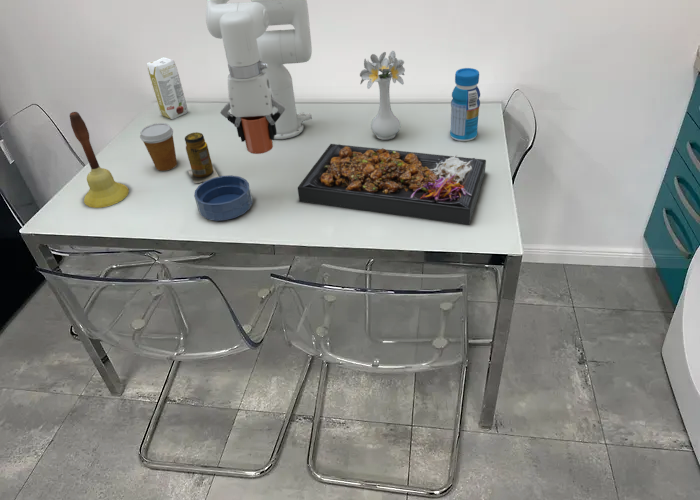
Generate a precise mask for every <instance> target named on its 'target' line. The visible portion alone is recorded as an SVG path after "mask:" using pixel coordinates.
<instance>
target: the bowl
mask: <svg viewBox="0 0 700 500" xmlns="http://www.w3.org/2000/svg"><path fill="white" fill-rule="evenodd" d="M193 196H194V200H195V203H196V207H197V210H198V213H199V214H200V217H202V218H204V219H206V220H210V221H214V222H215V221H217V222H218V221H227V220H232V219H235V218H238V217H240V216H242V215H244V214H245V213H246V212H248V211H249V210H250V209H251V207H252V205H253V196H252V192H251V185H250V182H248V180H247V179H246V178H244V177H241V176H238V175H233V174H231V175H230V174H229V175H219V177H215V178H212V179H210V180H207V181H204V182H201V183H200V184H199V185H198V186H196V188H195V190H194V195H193Z"/></svg>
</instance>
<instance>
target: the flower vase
mask: <svg viewBox="0 0 700 500" xmlns="http://www.w3.org/2000/svg"><path fill="white" fill-rule="evenodd" d="M386 55H387V52H386V51H384V52H382V53H381V54H380V55H379V57H378V55H376V53H372V54H371V55H370V61H369V60H367V59H366V58H364V60H363V67H364V69H362V70H361V71H360V72H359V77H361V80H360V85H362V84H363V82H364V81H368V82H367V84H366V88H367V89H368V90H370V88H372V86H373V84H374V83H378V89H379V90H378V92H379V106H378V111H377V114H376V115H375V117H373V119H372V121H371V122H370V130H371V131H372V133H373V134H374V135H375V137H376V138H377V139H379V140H383V141H388V140H392V139H394V138H395V137H396V135H397V133H399V131H400V130H401V128H402V124H401V121H400V119H399V118H398V117H397V115H395V114H394V113H393V110H392V107H391V96H390V87H391V80H392V83H393V84H396V83H397V82H398V83H399V84H400V85H404V84H405V83H404V79H403V77H402V76H405V72H406V69H405V67H404V64H405V61H404V60H403V59H401V58H400V59H398V58H397V57H396V52H395V50H391V51H390V53H389V55H388V57H386ZM379 72H381V73H379ZM401 75H402V76H401Z"/></svg>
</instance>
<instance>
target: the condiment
mask: <svg viewBox="0 0 700 500" xmlns="http://www.w3.org/2000/svg"><path fill="white" fill-rule="evenodd" d="M184 141H185V151H186V155H187V158H188V162H189V165H190V170H187V172H188V175H189V176H190V178H191V180H192V181H193V183H194V184H201V183H203V182H205V181H207V180H210V179H212V178H215V177H219V176H220V175H219V173H218V172H217V170H216V168H215V167H214V166H213V162H212V159H211V154H210V151H209V146H208V143H207V142H206V140H205V136H204V134H203V133H201V132H197V131H196V132H190V133H187V134H186V136H185V137H184Z"/></svg>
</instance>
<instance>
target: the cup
mask: <svg viewBox="0 0 700 500" xmlns="http://www.w3.org/2000/svg"><path fill="white" fill-rule="evenodd" d="M241 123H242V128H243V132H244V137H245V141H244V142H245V146H246V147H245V148H246V150H247V152H248V153H250V154H253V155H261V154H266V153H268V152H270V151H271V150H272V149H273V148H274V143H273V141H274V140H271V139H270V133H269V128H268V125H269V122H268V120H267V119H266V117H265V116H256V117H242V118H241Z"/></svg>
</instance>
